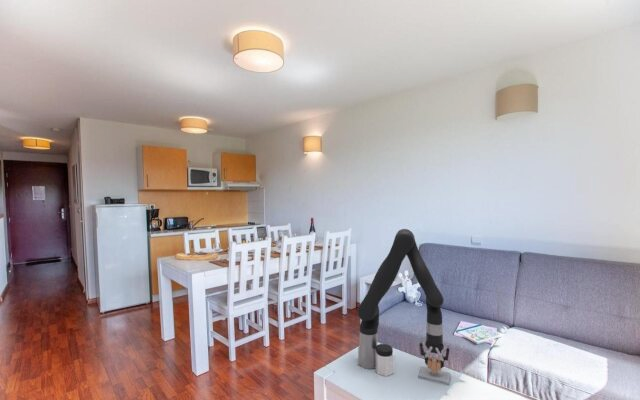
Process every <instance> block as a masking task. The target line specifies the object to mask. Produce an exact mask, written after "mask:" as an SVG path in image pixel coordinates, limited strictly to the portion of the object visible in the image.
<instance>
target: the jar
mask: <svg viewBox="0 0 640 400" xmlns="http://www.w3.org/2000/svg"><path fill="white" fill-rule="evenodd" d="M393 351H394V350H393V347H392V345H390V344H387V343H386V344H385V343H379V344H378V345H377V346H376V368H375V371H376V373H377V374H378V375H379V376H385V377H389V376H391V375H393V374H394V353H393Z"/></svg>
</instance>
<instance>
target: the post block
mask: <svg viewBox="0 0 640 400" xmlns="http://www.w3.org/2000/svg"><path fill="white" fill-rule="evenodd" d="M431 357H432V362H434V363H437V356H435V355H434V356H433V355H432V356H431ZM417 378H418V379H422V380H426V381H430V382H435V383H438V384H441V385H442V384H443V385H446V386H450V384H451V383H450V381H451V372H449V371H445V370H442V369H441V370H440V371H432V370H430V369H429V368H428V366H427V367H425V366H423V365H421V366H419V370H418V373H417Z"/></svg>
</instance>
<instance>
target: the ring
mask: <svg viewBox="0 0 640 400" xmlns="http://www.w3.org/2000/svg"><path fill="white" fill-rule="evenodd" d="M427 368H429V369H430V370H432V371H440V370H441V371H442V368H441V359H440V358H437V363H434V362H432V356H431V357H428V365H427Z"/></svg>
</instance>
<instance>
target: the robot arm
mask: <svg viewBox="0 0 640 400" xmlns="http://www.w3.org/2000/svg"><path fill="white" fill-rule="evenodd" d="M406 256H407V259H408V260H409V264H410V267H411V268H412V271H413V274H414V276H415V278H416V281H417V283H418V284H419V286H420V288H421V289H422V290H423V292H424V295H425V304H426V326H425V328H426V329H425V332H426V333H425V335H426V336H425V342H424V341H422V340H420V341H419V350H420V351H419V352H420V355H421V357H422V356H423V357H424V364H425V366H428V358H429V355H430V353H431V354H436V355H438V357H439V360H441V369H443V368H444V367H445V361H446V362H447V361H449V355H450V349H451V348H450V346H448V345H447V346H445V345H444V341H443V340H444V339H443V337H444V334H443V333H444V328H443V314H442V309H441V307H442V306H443V304H444V297H443V295H442V293H441V291H440V289H439V288H438V286H437V285H436V281H434V280H435V279H434V278H433V276H432V273H431V272H430V270H429V268H428V266H427V264H426V262H425V261H424V259H423V257H422V255H421V253H420V251H419V248H418V245H417V242H416V239H415V234H414V233H413V232H412V231H411V230H410V229H407V228H402V229H399V230H398V231H397V232H396V233H395V237H394V240H393V243H392V245H391V248H390V251H389V253H388V254H387V256H386V257H385V259H384V260H383V261H382V263H381V264H380V266H379V267H378V269H377V272H376V273H375V275H374V277H373V279H372V281H371V284H370V287H369V289H368V291H367V293H366V295H365V296H364V297H363V299H362V300H361V303H359V305H358V307H357V316H358V317H359V319H360V320H361V322H360V324H359V345H358V348H357V349H358V351H357V352H358V357H357V358H358V359H357V360H358V361H357V363H358V366H360V367H362V368H364V369H368V370H369V369H370V370H373V369H376V346H377V345H379V344H378V341H379V340H378V337H379V336H378V329H379V323H380V307H379V306H380V305H379V303H380V302H381V301H382V299H383V298H384V296H385V295H386V294H387V293H388V291H389V290H390V289H391V287H392V285H393V284H394V281H395V280H396V278H397V276H398V273H399V272H400V268H401V266H402V264H403V261H404V260H405V258H406ZM424 347H426V348H427V349H426V352H425V348H424ZM443 350H444V352H445V356H444V354H443Z"/></svg>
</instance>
